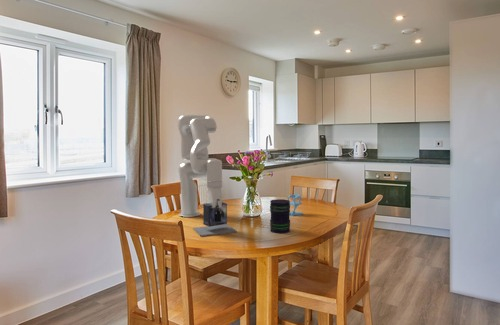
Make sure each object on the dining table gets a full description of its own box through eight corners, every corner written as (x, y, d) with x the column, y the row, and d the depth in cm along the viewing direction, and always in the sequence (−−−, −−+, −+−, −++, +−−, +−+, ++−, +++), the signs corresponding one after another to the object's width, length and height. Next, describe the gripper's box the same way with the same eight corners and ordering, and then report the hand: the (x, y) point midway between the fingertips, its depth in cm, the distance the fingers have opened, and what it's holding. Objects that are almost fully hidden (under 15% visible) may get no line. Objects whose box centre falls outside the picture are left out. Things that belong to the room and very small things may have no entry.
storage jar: (272, 234, 173) (272, 203, 172) (267, 229, 183) (267, 199, 182) (292, 232, 175) (292, 202, 174) (286, 227, 185) (286, 198, 184)
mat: (193, 229, 183) (193, 227, 183) (226, 225, 190) (226, 224, 190) (201, 236, 170) (201, 235, 170) (236, 232, 177) (236, 230, 177)
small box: (209, 227, 174) (208, 205, 174) (202, 224, 180) (202, 203, 179) (227, 223, 180) (227, 203, 180) (221, 221, 186) (220, 201, 185)
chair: (284, 214, 215) (284, 194, 215) (293, 212, 221) (293, 193, 220) (294, 216, 210) (294, 196, 209) (303, 214, 215) (303, 194, 214)
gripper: (202, 182, 185) (203, 217, 186) (212, 187, 169) (213, 224, 170) (216, 182, 188) (217, 215, 189) (227, 186, 172) (228, 222, 173)
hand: (215, 219), depth 180 cm, fingers closed on small box, 7 cm apart
